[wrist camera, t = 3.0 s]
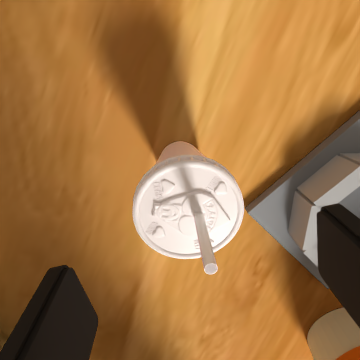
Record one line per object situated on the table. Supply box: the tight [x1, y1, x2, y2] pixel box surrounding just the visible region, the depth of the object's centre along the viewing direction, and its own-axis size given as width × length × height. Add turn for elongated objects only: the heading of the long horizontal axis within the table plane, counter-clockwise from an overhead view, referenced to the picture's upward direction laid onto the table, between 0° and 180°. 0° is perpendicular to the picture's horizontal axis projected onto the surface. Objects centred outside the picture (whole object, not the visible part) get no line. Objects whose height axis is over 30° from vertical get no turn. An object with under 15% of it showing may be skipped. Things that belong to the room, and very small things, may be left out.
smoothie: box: [133, 141, 244, 274], centre depth 17 cm, size 6×6×14 cm
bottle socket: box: [245, 111, 360, 289], centre depth 24 cm, size 14×14×4 cm
